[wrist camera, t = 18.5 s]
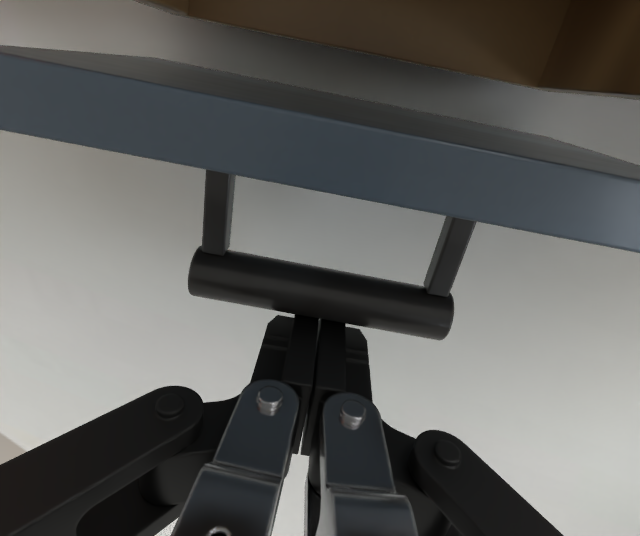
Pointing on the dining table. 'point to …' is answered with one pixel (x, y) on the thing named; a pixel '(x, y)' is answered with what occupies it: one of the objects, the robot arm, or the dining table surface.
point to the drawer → (358, 136)
